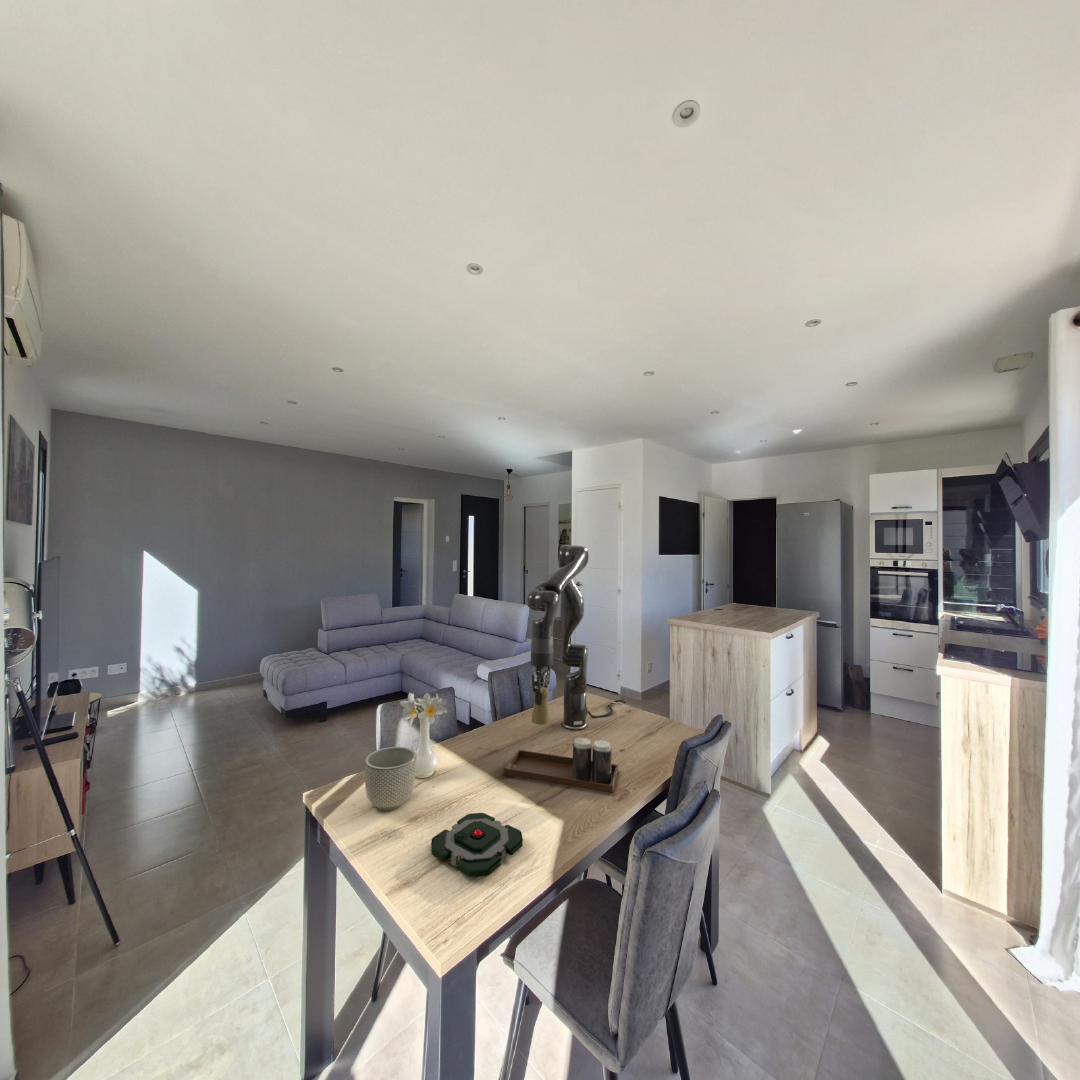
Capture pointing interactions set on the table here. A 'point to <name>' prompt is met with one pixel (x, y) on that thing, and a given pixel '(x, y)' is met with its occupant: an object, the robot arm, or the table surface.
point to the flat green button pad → (476, 844)
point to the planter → (390, 776)
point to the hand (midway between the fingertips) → (541, 701)
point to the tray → (553, 770)
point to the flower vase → (424, 730)
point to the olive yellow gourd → (541, 709)
